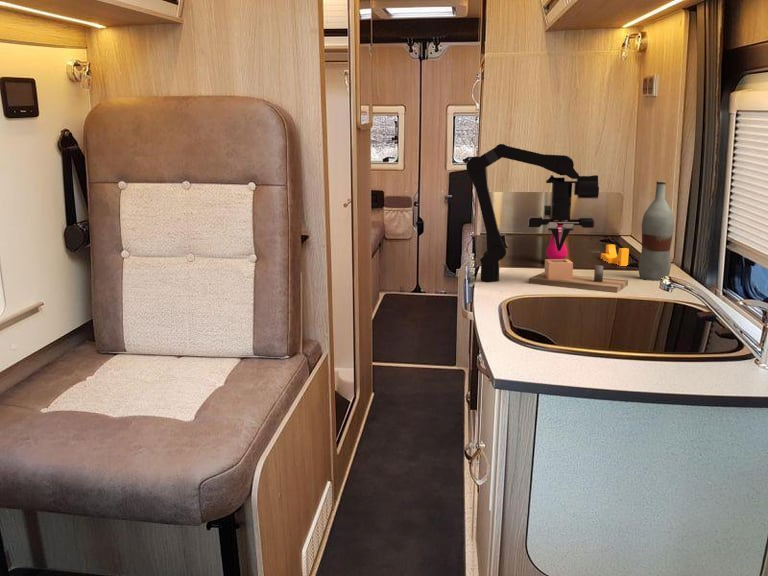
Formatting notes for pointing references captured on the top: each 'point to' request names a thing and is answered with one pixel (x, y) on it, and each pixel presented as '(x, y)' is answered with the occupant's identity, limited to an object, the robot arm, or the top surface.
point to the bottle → (656, 237)
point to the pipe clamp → (615, 255)
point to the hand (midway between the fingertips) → (558, 250)
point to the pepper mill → (552, 248)
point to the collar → (558, 269)
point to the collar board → (583, 281)
